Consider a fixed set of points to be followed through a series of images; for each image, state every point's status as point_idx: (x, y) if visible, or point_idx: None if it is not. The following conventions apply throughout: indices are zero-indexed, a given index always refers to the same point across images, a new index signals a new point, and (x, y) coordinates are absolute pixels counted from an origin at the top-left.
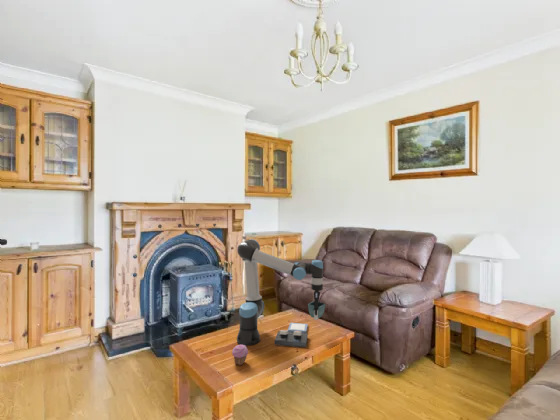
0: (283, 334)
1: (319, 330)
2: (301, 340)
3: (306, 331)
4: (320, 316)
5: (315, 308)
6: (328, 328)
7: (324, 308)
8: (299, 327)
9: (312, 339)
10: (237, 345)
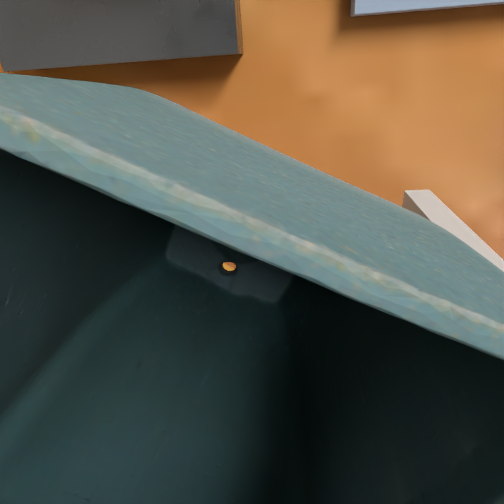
0: None
1: (441, 160)
2: (28, 6)
3: (392, 12)
4: (218, 307)
5: None
6: (490, 240)
7: (278, 479)
8: None
9: (218, 112)
10: None
